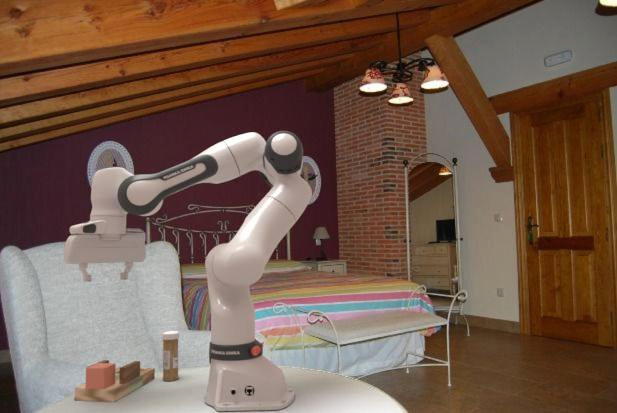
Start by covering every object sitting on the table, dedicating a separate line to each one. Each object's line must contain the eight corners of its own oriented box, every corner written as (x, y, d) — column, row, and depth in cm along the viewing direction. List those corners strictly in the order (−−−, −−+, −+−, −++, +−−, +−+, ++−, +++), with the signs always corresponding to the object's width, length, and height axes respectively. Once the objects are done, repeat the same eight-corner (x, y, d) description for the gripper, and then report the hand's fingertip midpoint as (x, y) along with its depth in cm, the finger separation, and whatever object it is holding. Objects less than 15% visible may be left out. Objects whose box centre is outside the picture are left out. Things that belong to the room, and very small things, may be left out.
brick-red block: (115, 383, 119) (115, 363, 120) (103, 389, 115) (103, 368, 115) (97, 382, 120) (98, 363, 121) (85, 388, 115) (86, 368, 116)
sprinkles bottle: (180, 379, 132) (180, 332, 133) (164, 382, 129) (165, 334, 131) (175, 376, 136) (176, 329, 137) (160, 378, 133) (160, 331, 134)
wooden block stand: (154, 378, 133) (154, 354, 134) (114, 401, 114) (114, 373, 114) (120, 377, 135) (120, 353, 136) (74, 400, 116) (75, 371, 116)
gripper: (140, 228, 130) (139, 277, 129) (63, 227, 116) (60, 282, 115) (150, 228, 126) (149, 279, 125) (71, 226, 112) (69, 283, 110)
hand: (106, 280), depth 120 cm, fingers open, 8 cm apart
